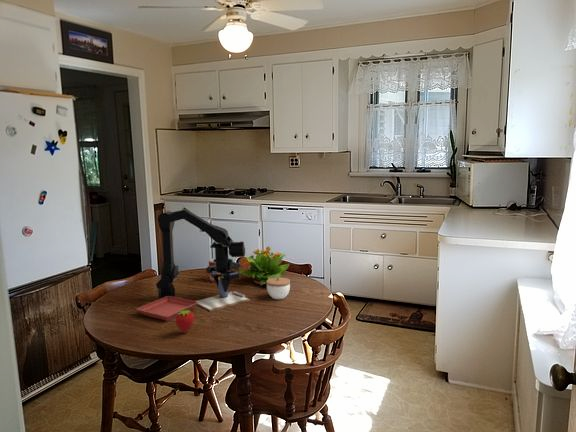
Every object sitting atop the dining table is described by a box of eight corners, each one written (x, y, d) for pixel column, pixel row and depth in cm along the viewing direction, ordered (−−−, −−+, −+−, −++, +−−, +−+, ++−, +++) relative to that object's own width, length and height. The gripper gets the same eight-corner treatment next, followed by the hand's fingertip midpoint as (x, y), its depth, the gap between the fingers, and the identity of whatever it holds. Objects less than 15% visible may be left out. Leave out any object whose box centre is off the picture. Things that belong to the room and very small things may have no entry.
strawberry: (199, 331, 164) (197, 305, 163) (183, 338, 158) (182, 311, 156) (187, 327, 167) (186, 302, 166) (172, 334, 161) (170, 308, 160)
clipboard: (210, 311, 184) (210, 308, 183) (192, 302, 195) (192, 299, 195) (249, 300, 196) (249, 296, 196) (231, 292, 208) (230, 289, 208)
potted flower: (230, 286, 218) (228, 251, 215) (248, 273, 240) (247, 241, 238) (278, 290, 210) (277, 254, 208) (292, 276, 233) (291, 243, 230)
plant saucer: (167, 324, 172) (167, 316, 172) (135, 316, 182) (135, 308, 181) (199, 309, 188) (198, 301, 187) (168, 302, 197) (168, 295, 196)
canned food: (224, 282, 224) (223, 261, 222) (208, 283, 224) (207, 261, 222) (226, 278, 231) (225, 257, 230) (211, 278, 232) (210, 258, 230)
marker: (222, 298, 197) (221, 278, 196) (217, 296, 200) (216, 276, 199) (230, 296, 200) (229, 276, 198) (225, 294, 203) (224, 274, 201)
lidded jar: (262, 299, 198) (261, 278, 197) (274, 292, 207) (273, 272, 206) (283, 302, 193) (283, 281, 192) (294, 295, 202) (294, 275, 201)
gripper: (248, 257, 195) (250, 291, 198) (225, 250, 209) (226, 282, 212) (227, 261, 188) (228, 297, 190) (204, 254, 202) (206, 287, 204)
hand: (223, 290), depth 199 cm, fingers closed on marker, 4 cm apart
